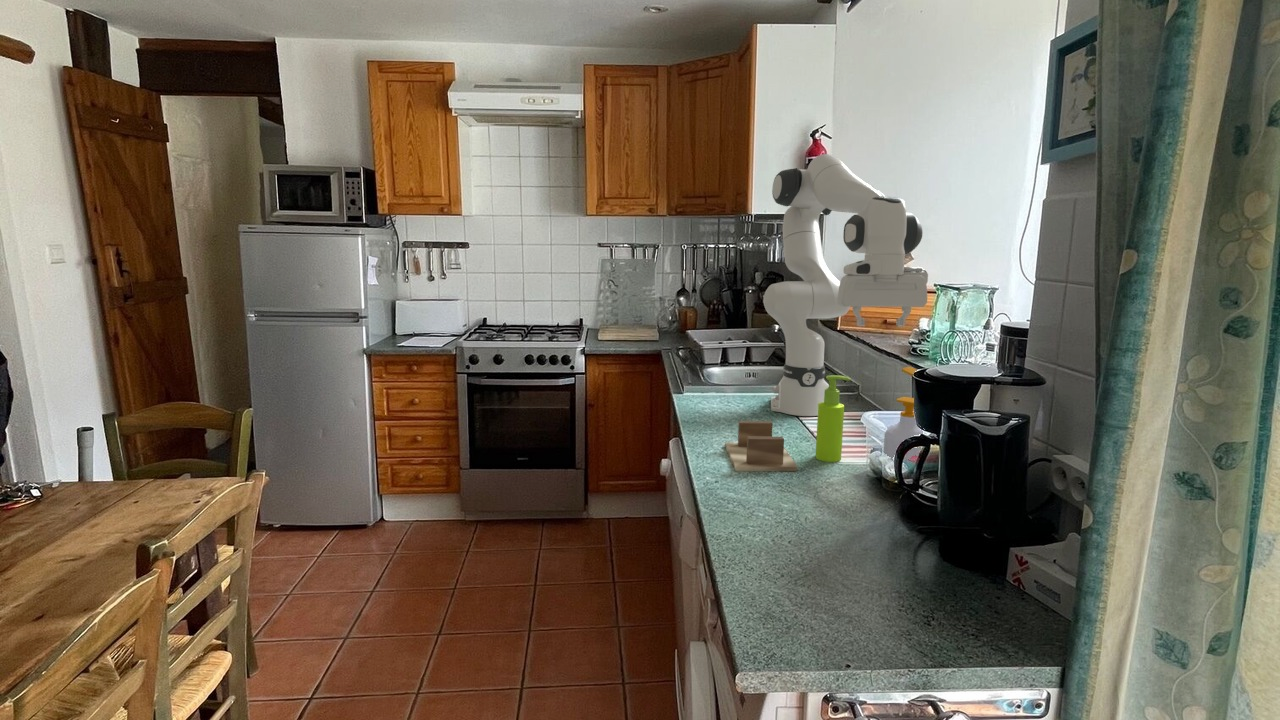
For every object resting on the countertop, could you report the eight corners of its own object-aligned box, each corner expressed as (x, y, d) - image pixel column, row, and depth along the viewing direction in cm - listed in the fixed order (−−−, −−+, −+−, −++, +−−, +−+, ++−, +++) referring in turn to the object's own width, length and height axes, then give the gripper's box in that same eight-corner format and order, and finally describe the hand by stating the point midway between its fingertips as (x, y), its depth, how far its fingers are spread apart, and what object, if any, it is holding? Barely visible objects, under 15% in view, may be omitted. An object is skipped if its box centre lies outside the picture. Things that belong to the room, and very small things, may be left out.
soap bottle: (893, 469, 153) (900, 362, 149) (933, 479, 147) (942, 368, 142) (874, 478, 147) (882, 368, 142) (915, 489, 141) (925, 374, 136)
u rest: (724, 446, 169) (725, 419, 168) (780, 446, 169) (781, 419, 168) (735, 470, 151) (736, 441, 150) (797, 471, 152) (799, 441, 150)
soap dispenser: (846, 463, 157) (851, 379, 153) (816, 461, 158) (820, 377, 155) (844, 455, 163) (849, 374, 159) (814, 453, 164) (819, 372, 160)
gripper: (922, 267, 160) (919, 325, 162) (836, 266, 160) (834, 324, 162) (934, 267, 154) (930, 327, 156) (845, 267, 154) (842, 327, 156)
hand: (880, 326), depth 159 cm, fingers open, 8 cm apart
